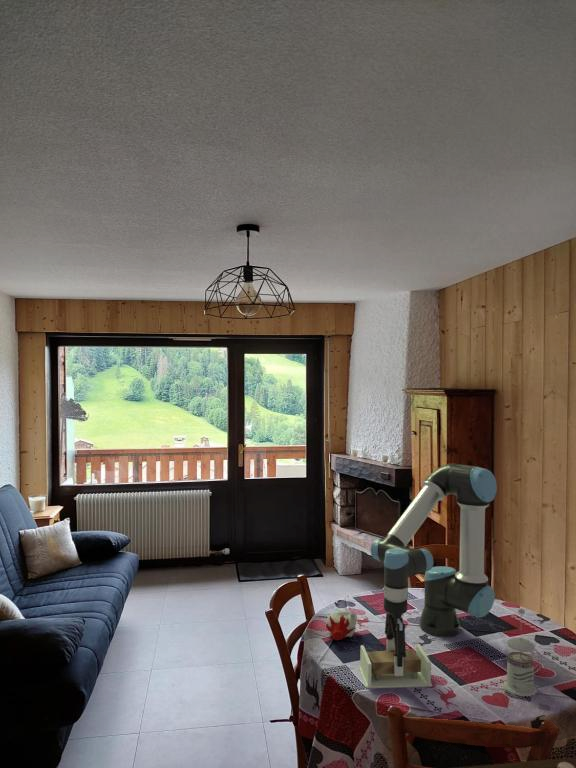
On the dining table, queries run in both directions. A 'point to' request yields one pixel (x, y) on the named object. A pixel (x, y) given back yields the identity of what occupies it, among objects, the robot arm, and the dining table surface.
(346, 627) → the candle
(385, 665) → the brown long block
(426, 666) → the shelf frame
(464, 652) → the dining table surface
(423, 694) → the dining table surface
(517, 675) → the french press
